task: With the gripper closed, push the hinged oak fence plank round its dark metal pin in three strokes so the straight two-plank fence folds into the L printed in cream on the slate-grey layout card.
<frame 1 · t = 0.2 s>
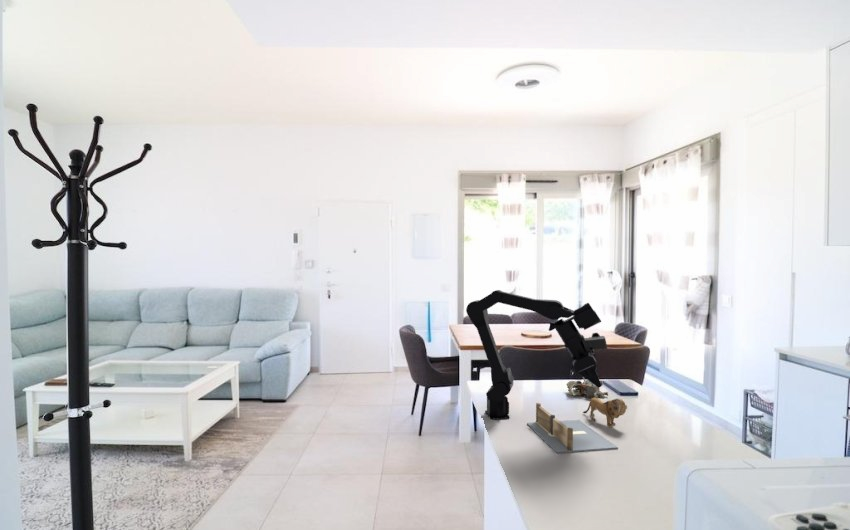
hand: (599, 382, 116), 15 cm above the countertop, tool tilted 30°, fingers open, 9 cm apart
fixed plank: (552, 435, 112), resting on layout card
hinged plank: (562, 432, 106), point 3 cm above the countertop, hinge at 0.0°
lion figurine: (604, 422, 122), on the countertop
layout card: (569, 435, 112), on the countertop
figurine: (584, 396, 148), on the countertop
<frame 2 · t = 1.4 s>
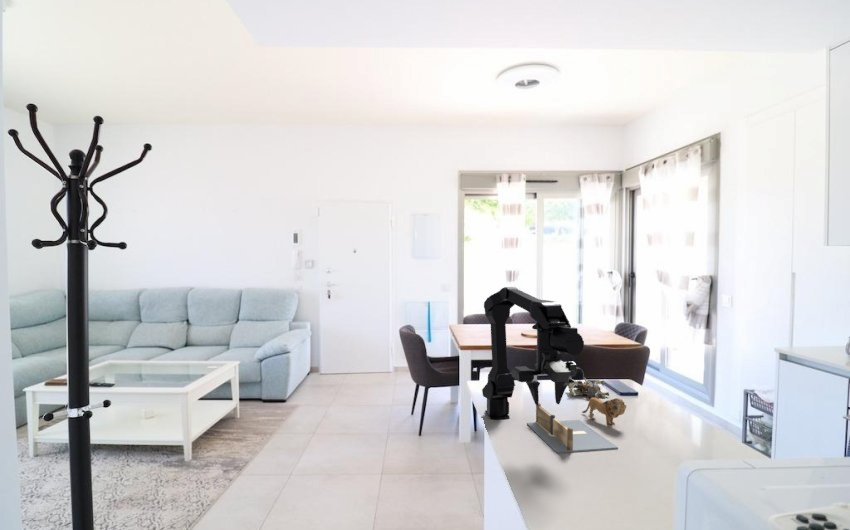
hand: (547, 404, 104), 12 cm above the countertop, tool pointing down, fingers open, 6 cm apart
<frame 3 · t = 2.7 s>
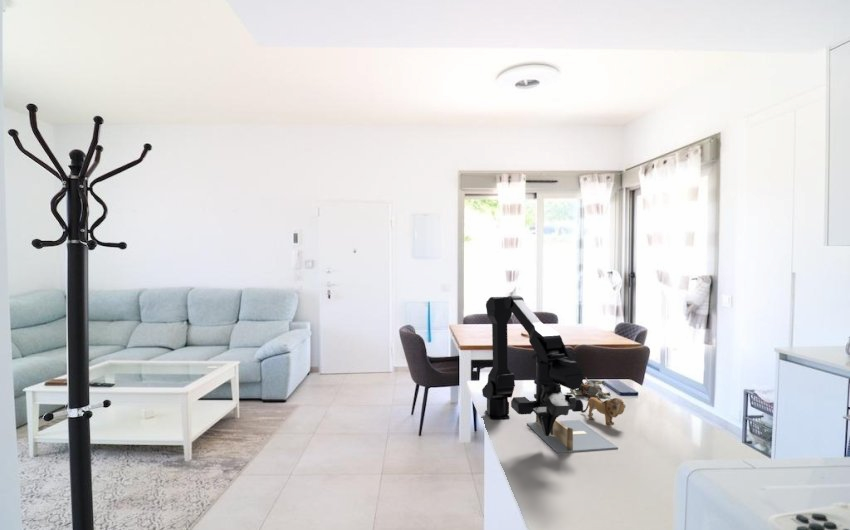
hand: (546, 435, 104), 3 cm above the countertop, tool pointing down, fingers closed
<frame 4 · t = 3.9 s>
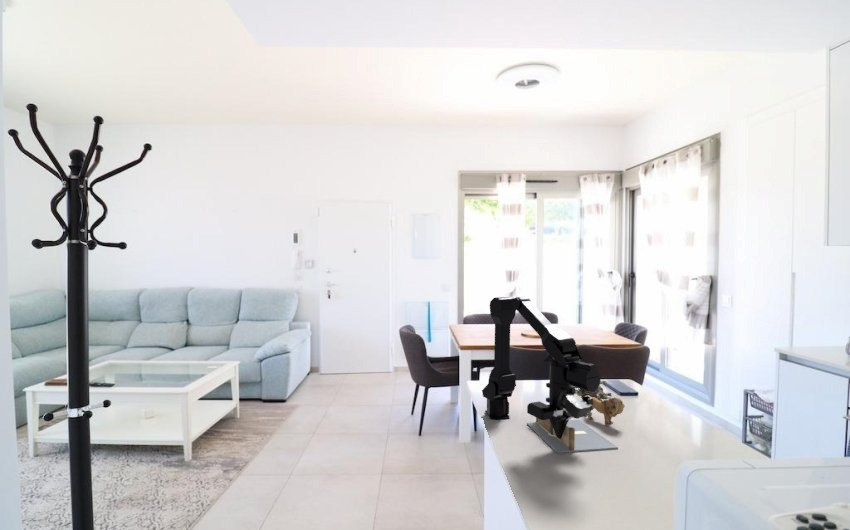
hand: (559, 438, 104), 3 cm above the countertop, tool pointing down, fingers closed
hinged plank: (563, 432, 106), point 3 cm above the countertop, hinge at 3.1°, touching gripper
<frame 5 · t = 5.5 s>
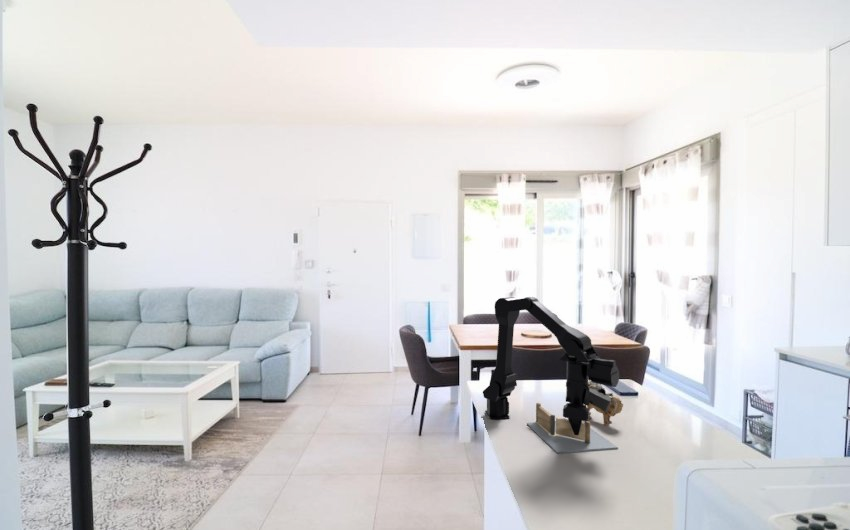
hand: (576, 434, 106), 3 cm above the countertop, tool pointing down, fingers closed
hinged plank: (572, 428, 109), point 3 cm above the countertop, hinge at 50.1°, touching gripper
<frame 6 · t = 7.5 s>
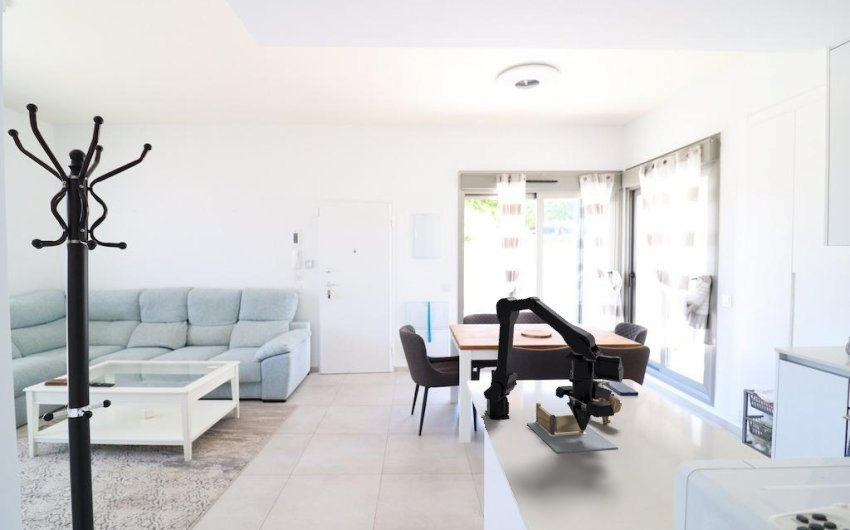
hand: (582, 430, 110), 3 cm above the countertop, tool pointing down, fingers closed
hinged plank: (569, 423, 113), point 3 cm above the countertop, hinge at 92.4°
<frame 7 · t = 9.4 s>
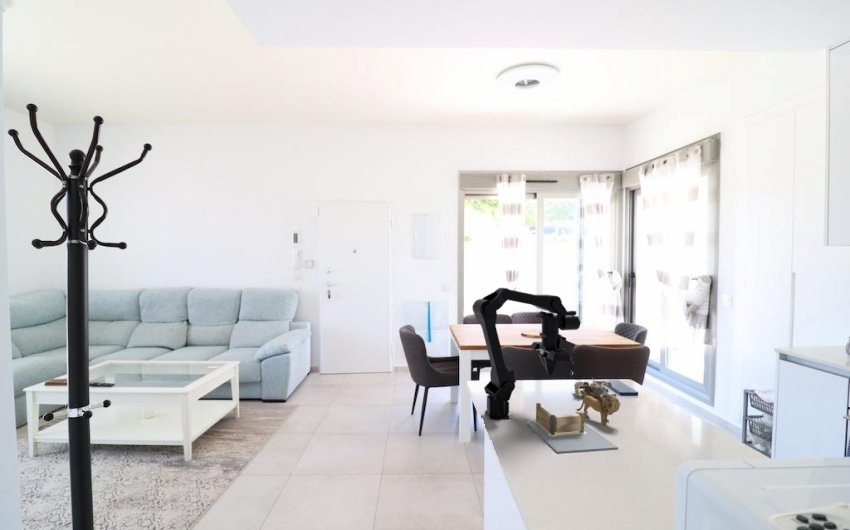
hand: (549, 375, 132), 12 cm above the countertop, tool pointing down, fingers closed
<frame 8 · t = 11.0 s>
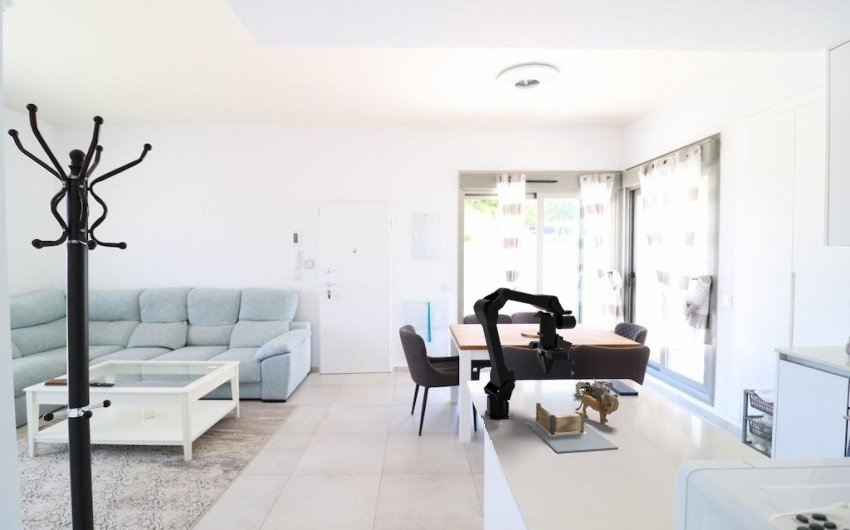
hand: (547, 374, 134), 12 cm above the countertop, tool pointing down, fingers closed
at the end: hinged plank at +92° (first picture: +0°); the gripper is holding nothing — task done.
